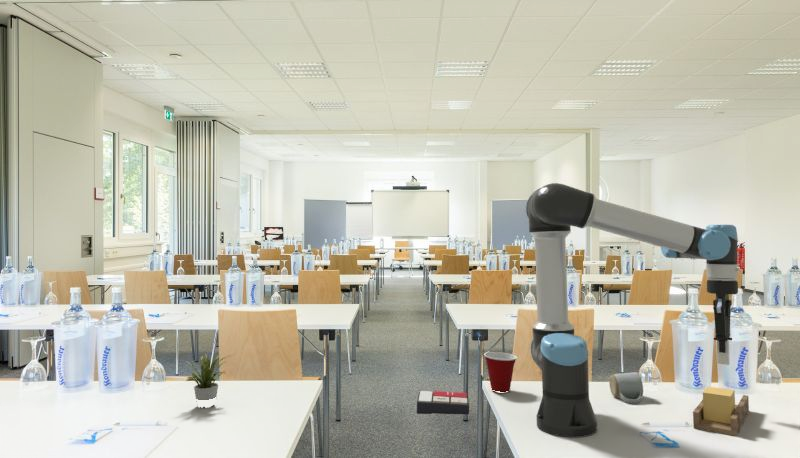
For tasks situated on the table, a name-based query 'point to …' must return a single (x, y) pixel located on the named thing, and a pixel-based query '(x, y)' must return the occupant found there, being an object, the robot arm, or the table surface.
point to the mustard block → (718, 404)
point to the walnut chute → (719, 427)
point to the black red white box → (442, 403)
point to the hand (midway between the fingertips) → (723, 363)
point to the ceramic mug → (627, 387)
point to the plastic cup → (500, 370)
